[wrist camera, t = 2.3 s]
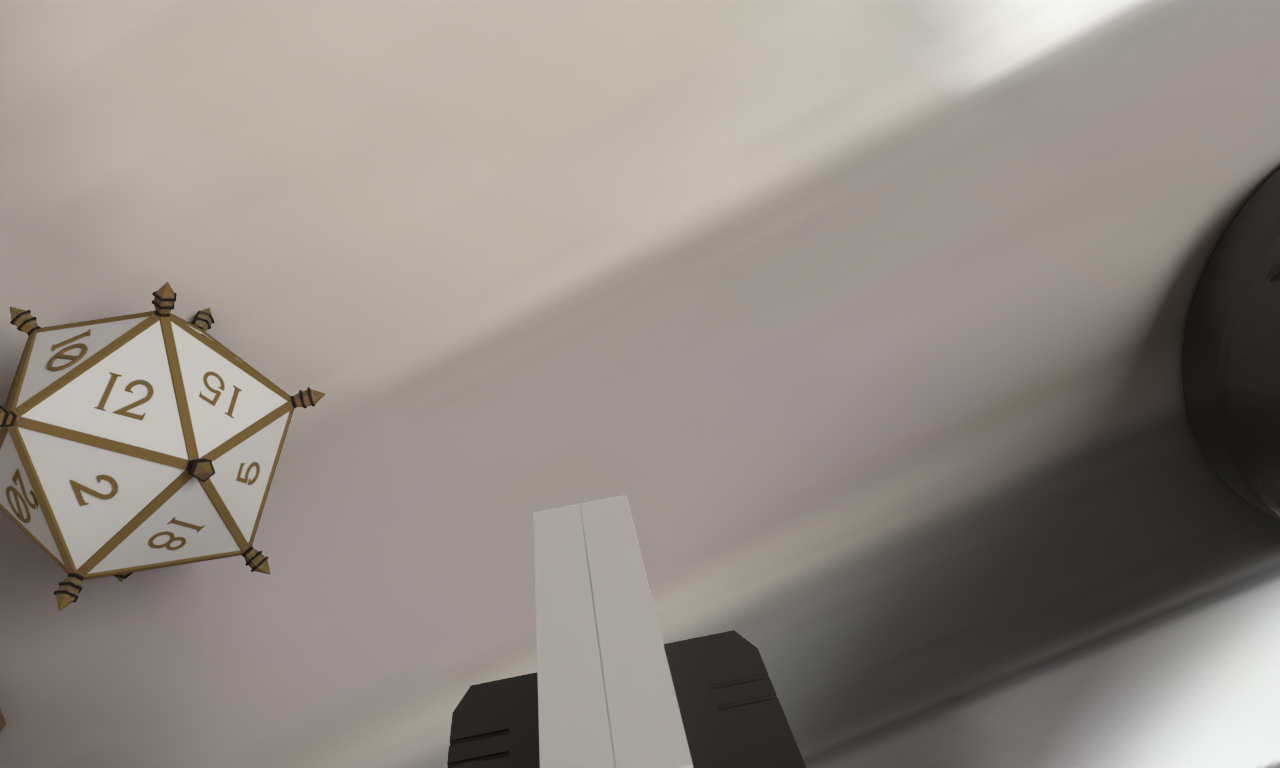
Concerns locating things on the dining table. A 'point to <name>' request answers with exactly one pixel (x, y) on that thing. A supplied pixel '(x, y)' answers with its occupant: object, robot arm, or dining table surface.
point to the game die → (138, 444)
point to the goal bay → (2, 721)
